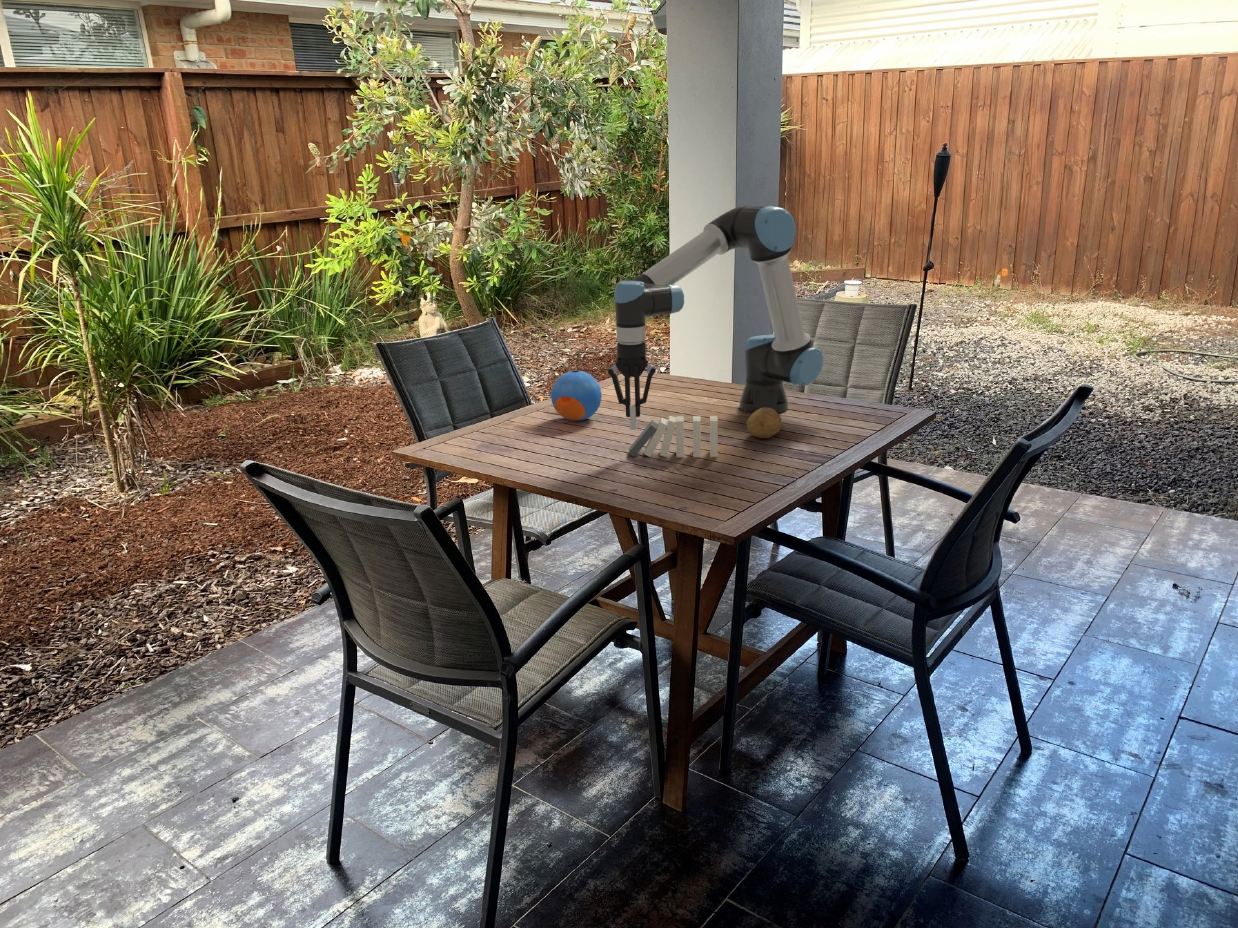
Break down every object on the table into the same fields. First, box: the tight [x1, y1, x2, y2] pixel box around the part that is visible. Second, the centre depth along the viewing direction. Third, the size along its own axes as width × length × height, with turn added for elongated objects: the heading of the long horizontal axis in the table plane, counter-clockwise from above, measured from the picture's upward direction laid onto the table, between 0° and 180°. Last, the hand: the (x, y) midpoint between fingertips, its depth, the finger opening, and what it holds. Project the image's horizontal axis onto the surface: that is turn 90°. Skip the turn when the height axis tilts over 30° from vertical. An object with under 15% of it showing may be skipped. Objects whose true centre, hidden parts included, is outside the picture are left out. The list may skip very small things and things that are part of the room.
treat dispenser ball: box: [550, 370, 603, 422], centre depth 280 cm, size 16×15×15 cm
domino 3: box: [659, 415, 676, 458], centre depth 245 cm, size 2×5×10 cm, turn 176°
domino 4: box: [675, 415, 685, 458], centre depth 245 cm, size 2×5×10 cm, turn 175°
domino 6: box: [709, 415, 719, 458], centre depth 244 cm, size 2×5×10 cm, turn 175°
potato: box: [745, 408, 782, 439], centre depth 258 cm, size 10×14×8 cm
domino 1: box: [628, 419, 658, 458], centre depth 246 cm, size 2×5×10 cm
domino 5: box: [692, 415, 702, 458], centre depth 244 cm, size 2×5×10 cm, turn 175°
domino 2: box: [643, 417, 668, 458], centre depth 245 cm, size 2×5×10 cm, turn 176°
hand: (633, 428), depth 245 cm, fingers closed
